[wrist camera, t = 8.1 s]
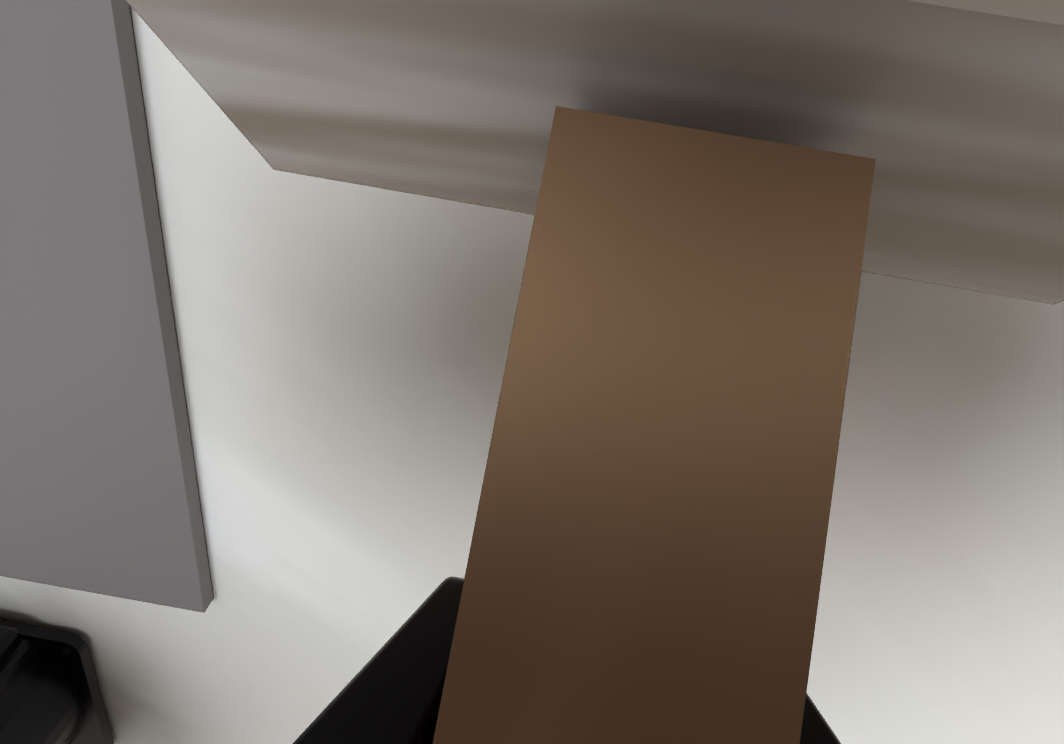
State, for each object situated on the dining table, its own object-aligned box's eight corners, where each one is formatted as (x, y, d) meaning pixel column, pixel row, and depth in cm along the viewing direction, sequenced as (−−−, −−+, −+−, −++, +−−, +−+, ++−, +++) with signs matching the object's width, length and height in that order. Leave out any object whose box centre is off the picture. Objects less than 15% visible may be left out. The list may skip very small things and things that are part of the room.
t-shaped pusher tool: (981, 1079, 10) (1625, 1967, 4) (98, 887, 10) (-489, 1418, 5) (1061, 209, 12) (1606, -78, 6) (295, 81, 12) (54, -305, 6)
